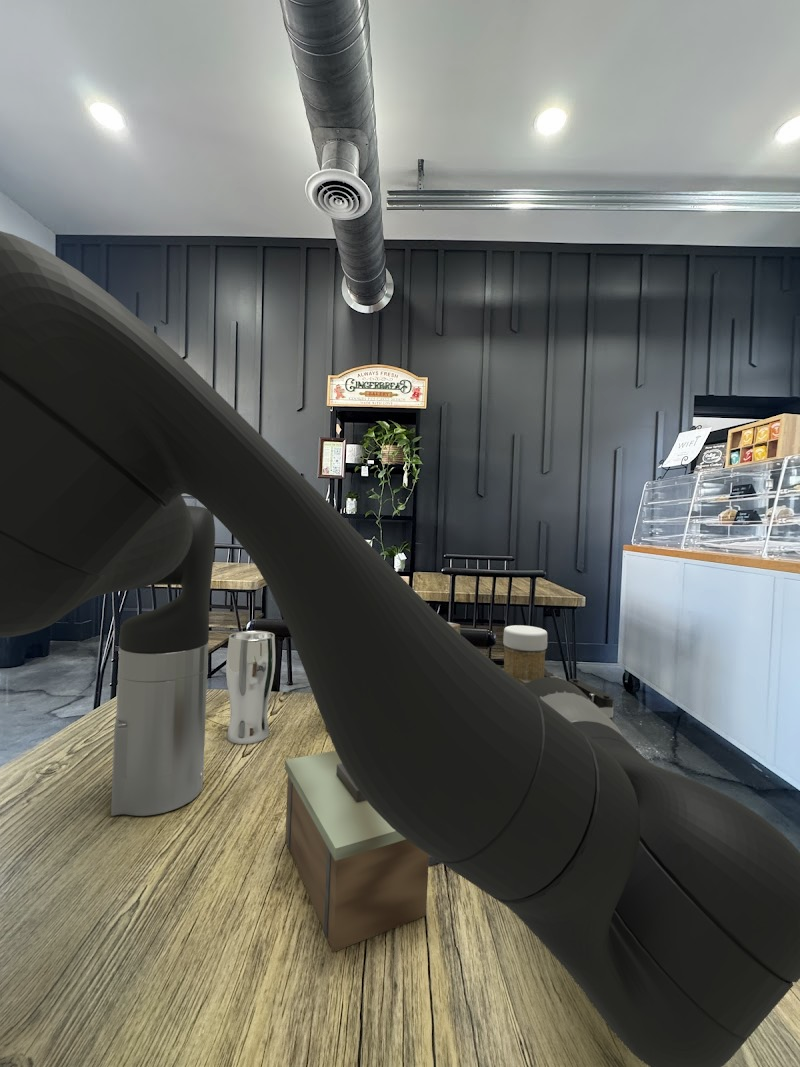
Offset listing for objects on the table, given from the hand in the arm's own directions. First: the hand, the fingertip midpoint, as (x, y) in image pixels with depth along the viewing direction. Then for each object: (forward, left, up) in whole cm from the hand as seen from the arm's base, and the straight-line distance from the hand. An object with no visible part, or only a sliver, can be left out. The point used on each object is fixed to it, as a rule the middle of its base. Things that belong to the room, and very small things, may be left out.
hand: (518, 675), depth 54 cm
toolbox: (-20, -1, -16) cm, 26 cm away
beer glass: (-23, +32, -16) cm, 42 cm away
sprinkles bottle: (-1, -2, -8) cm, 8 cm away
